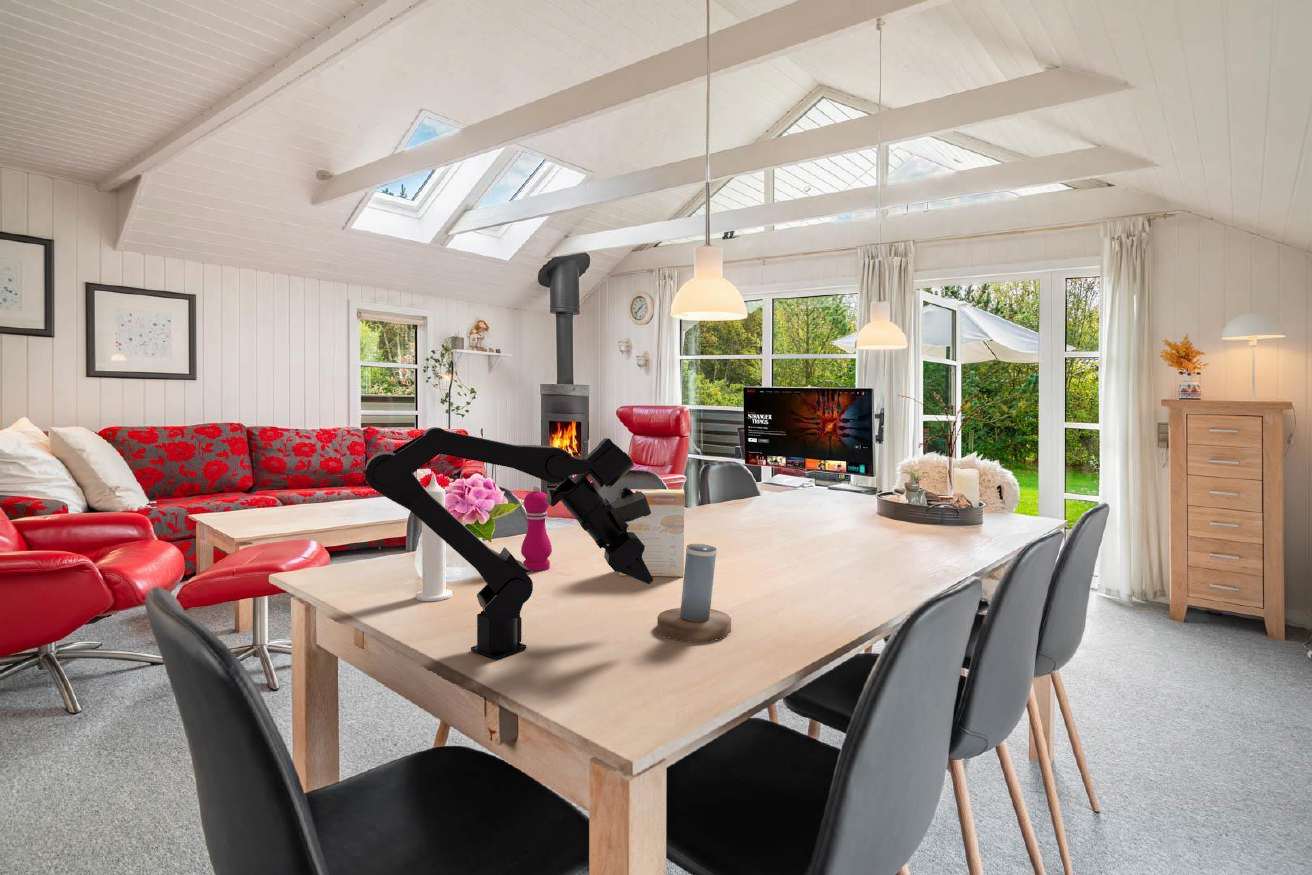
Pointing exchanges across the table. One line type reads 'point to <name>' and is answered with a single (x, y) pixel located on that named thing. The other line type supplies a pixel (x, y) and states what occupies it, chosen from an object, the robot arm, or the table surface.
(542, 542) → the pepper mill
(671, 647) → the table surface
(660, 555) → the coffeecake box
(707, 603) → the jar
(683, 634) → the trivet
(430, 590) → the candle
